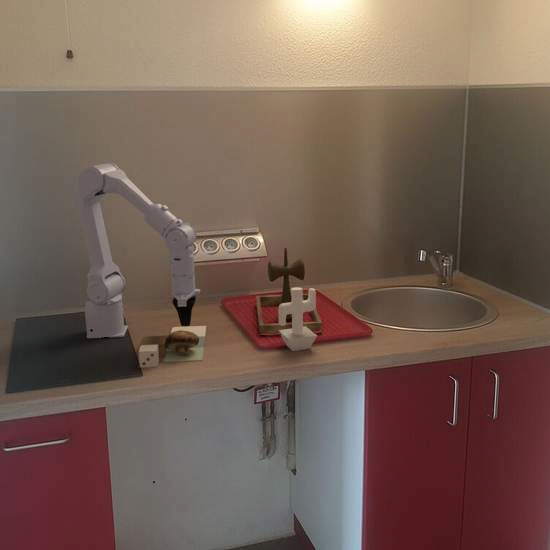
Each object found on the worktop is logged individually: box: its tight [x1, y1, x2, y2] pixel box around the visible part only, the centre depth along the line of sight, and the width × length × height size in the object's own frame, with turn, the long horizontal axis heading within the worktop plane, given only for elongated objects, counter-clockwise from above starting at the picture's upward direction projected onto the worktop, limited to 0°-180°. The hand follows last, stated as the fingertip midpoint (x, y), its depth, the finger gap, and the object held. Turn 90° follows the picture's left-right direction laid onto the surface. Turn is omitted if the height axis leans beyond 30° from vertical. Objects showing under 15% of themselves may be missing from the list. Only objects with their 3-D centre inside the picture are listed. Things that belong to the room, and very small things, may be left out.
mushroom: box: [165, 330, 199, 355], centre depth 165 cm, size 8×8×6 cm
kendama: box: [267, 247, 306, 321], centre depth 187 cm, size 6×10×20 cm, turn 100°
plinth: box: [138, 335, 168, 357], centre depth 167 cm, size 6×6×3 cm
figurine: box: [277, 287, 318, 352], centre depth 166 cm, size 7×9×15 cm
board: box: [163, 325, 207, 363], centre depth 172 cm, size 9×24×1 cm, turn 3°
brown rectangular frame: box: [255, 293, 323, 335], centre depth 189 cm, size 16×26×3 cm, turn 3°
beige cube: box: [138, 345, 160, 368], centre depth 160 cm, size 4×4×4 cm
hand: (185, 325), depth 174 cm, fingers closed
